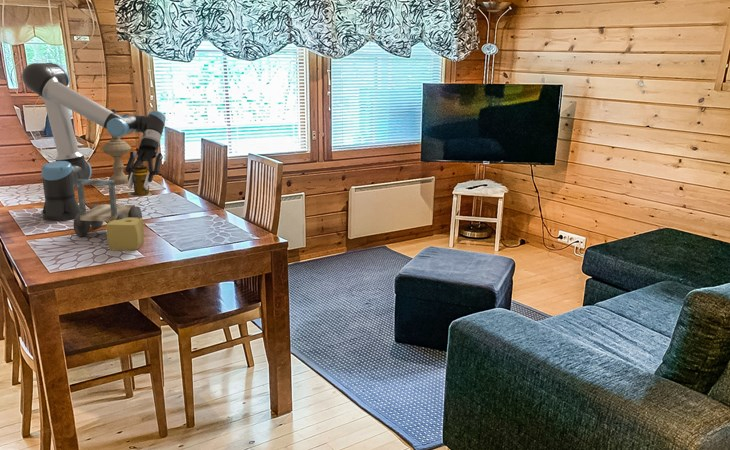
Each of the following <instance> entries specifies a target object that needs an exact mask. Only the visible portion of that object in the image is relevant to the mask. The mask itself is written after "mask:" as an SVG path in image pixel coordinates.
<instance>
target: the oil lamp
mask: <svg viewBox="0 0 730 450" xmlns="http://www.w3.org/2000/svg"><path fill="white" fill-rule="evenodd" d="M110 111H112V112H113V113H115V114H117V111H116V109H110ZM110 136H111V138H110V140H108V141H106V142H105V144H103V145H102V146H101V150H102V152H104V154H107V155H109V156H111V157H112V158H113V159H114V162H113V164H112V168H113V174H112V175H111V176H110V177H109V178H108V180H114V185H126V184H127V185H128V182H129V181H128V175H127V174H125V172H124V167H125V165H124V164H123V163H122V161H121V160H122V159H121V158H122V157H123V156H124V155H126V154H128V153H130V152H131V149H132V147H131V145H130V144H129V143H127V142H126V141H125V140H122V139H123V137H124V136H120V137H115V136H112V135H111V134H110Z"/></svg>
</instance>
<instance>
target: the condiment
mask: <svg viewBox="0 0 730 450" xmlns="http://www.w3.org/2000/svg"><path fill="white" fill-rule="evenodd" d="M133 169H134V170H133V171H134V172H133V192H132V191H130V192H127V194H128V196H130V197H131V198H133V197H145V196H152V195H153V194H152V193H151V192H150V185H149V186H148V190H146V189H145V188H144V183H145V179H146V176H147V173H149V171H148V167H147V166H146V165H137V166H134V167H133Z"/></svg>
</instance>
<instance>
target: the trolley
mask: <svg viewBox="0 0 730 450" xmlns="http://www.w3.org/2000/svg"><path fill="white" fill-rule="evenodd" d="M76 181H77V187H76V189H77V198H78V205H79V208H80V213H78V214H77V215H76V216H75V218H74V219H73V231H74V233H75V235H76V236H78V237H86V236H88V234H89V232H90V229H91V227H92V228H101V227H102V226H103V224H104V222H111V221H113V220H120V219H123V218H142V219H143V213H142V209H141V208H140V207H139V206H135V204H133V205H132V204H117V199H116V198H117V197H116V189H115V188H116V186H115V185H116V184H114V180H109V179H89V180H85V179H78V180H76ZM84 185H88V186H89V185H92V186H108V194H109V204H106V203H101V204H99V205H92V206H91V207H90V209H89V210H87V206H86V199H85V197H86V196H85V190H84V189H85V188H84Z"/></svg>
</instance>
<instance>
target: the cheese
mask: <svg viewBox="0 0 730 450" xmlns="http://www.w3.org/2000/svg"><path fill="white" fill-rule="evenodd" d="M105 226H106V228H105V229H106V232H105V233H106V239H107V240H106V241H107V244H108V248H109V251H136V250H138V249H139V248H140V247H141V245H143V244H144V242H145V233H144V232H145V231H144V221H143V217H142V218H123V219H120V220H113V221H111V222H110V221H108V222H107V224H106V225H105Z"/></svg>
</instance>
